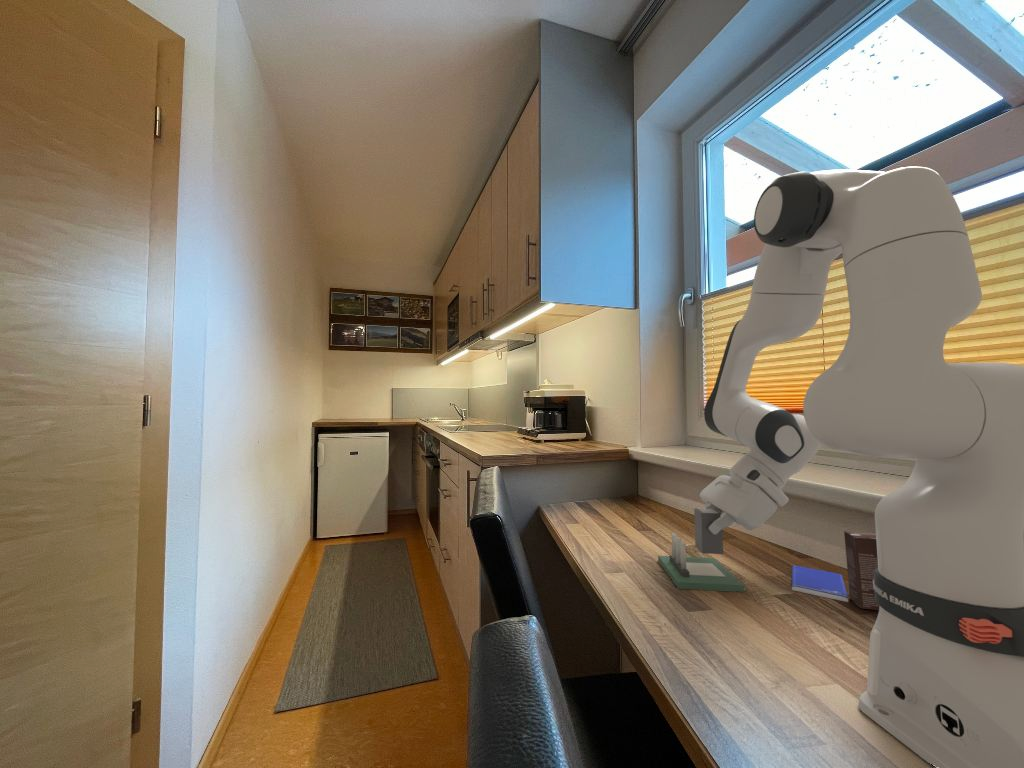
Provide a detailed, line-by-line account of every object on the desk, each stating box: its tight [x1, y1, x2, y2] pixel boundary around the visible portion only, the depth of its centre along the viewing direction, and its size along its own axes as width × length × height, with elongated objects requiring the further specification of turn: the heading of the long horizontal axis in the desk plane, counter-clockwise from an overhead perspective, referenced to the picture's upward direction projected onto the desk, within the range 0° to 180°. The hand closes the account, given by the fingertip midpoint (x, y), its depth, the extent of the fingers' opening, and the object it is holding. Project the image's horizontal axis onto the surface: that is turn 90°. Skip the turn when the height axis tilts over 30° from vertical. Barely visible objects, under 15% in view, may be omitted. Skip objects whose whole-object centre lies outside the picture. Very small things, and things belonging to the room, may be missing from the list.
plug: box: [693, 507, 724, 555], centre depth 81 cm, size 4×4×8 cm
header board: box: [657, 533, 746, 593], centre depth 81 cm, size 14×12×7 cm
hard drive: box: [791, 565, 849, 603], centre depth 77 cm, size 2×8×12 cm
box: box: [843, 530, 880, 611], centre depth 68 cm, size 6×4×12 cm
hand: (704, 527), depth 81 cm, fingers closed on plug, 4 cm apart
